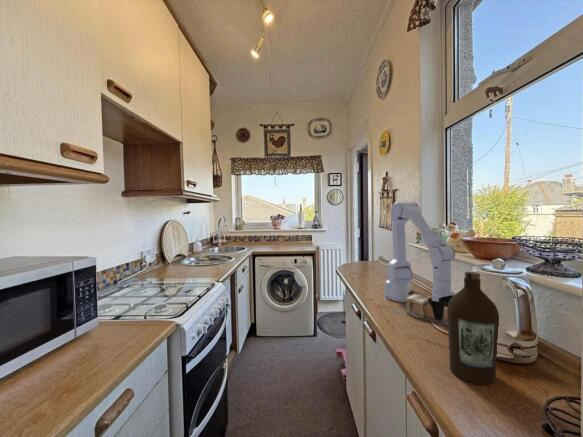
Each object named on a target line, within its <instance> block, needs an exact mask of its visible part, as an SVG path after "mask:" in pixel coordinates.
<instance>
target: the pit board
mask: <svg viewBox="0 0 583 437" xmlns="http://www.w3.org/2000/svg"><path fill="white" fill-rule="evenodd" d="M403 307H406V304H402V305H401V306H399V307H397V308H396V309H394V310H393V312H395V313H398V314H402V315H407V316H409V317H414V318H418V319H421V320H426V321H429V322H432V323H437V324H441V325H444V326H448V319H447V320H446V321H442V320H437V319H434V318H430V317H426V316H424V318H421V317H420V315H418V314H414V313H413V306H411V314H410V315H409V314H406V312H401V311H398V310H399V309H400V310H403V311H406V308H403Z"/></svg>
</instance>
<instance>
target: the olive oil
mask: <svg viewBox="0 0 583 437" xmlns="http://www.w3.org/2000/svg"><path fill="white" fill-rule="evenodd" d="M480 277H481V273H479V272H475V271H465V272H464V278H463V285H464V286H463V288H461V289H460V290H458V292H456V293H455V295H454V296H453V297H452V298H451V299H450V301H449V303H448V307H447V316H448V325H447V327H448V329H447V332H448V346H449V347H448V348H449V352H448V353H449V356H448V357H449V369H450V372H451V373H452V374H453V375H454V376H456V377H457V378H459V379H461V381H462V380H463V381H465V382H467V383H471V384H474V385H480V386H489V385H491V384H494V383H495V381H496V375H497V374H496V373H497V357H496V355H497V340H498V327H499V316H500V315H499V310H498V308H497V306H496V304H495V303H494V302H493V301H492V299H490V297H489V296H487V295H486V293H485V292H483V291H482V288H481V283H482V282H481V281H482V280H481V278H480Z"/></svg>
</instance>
